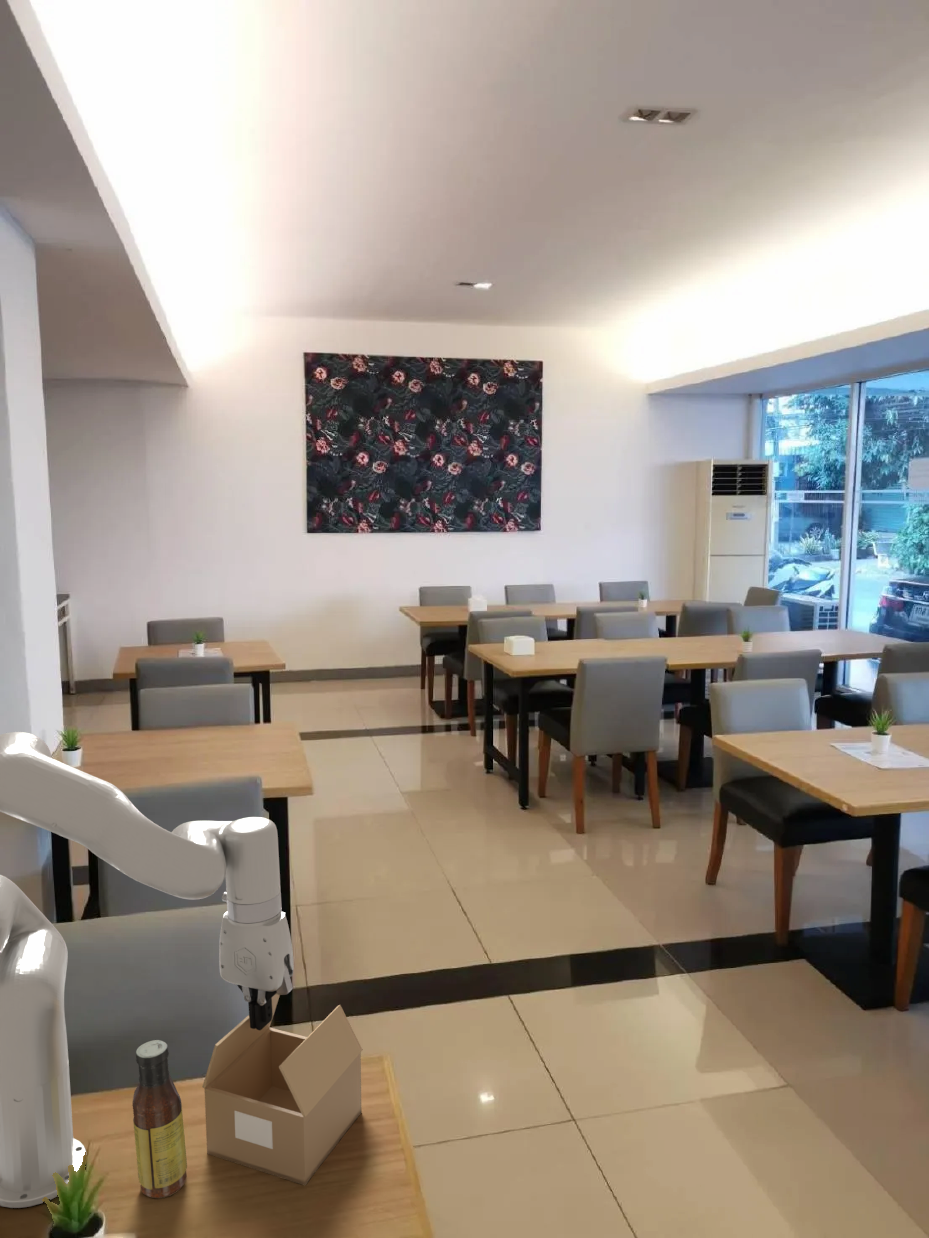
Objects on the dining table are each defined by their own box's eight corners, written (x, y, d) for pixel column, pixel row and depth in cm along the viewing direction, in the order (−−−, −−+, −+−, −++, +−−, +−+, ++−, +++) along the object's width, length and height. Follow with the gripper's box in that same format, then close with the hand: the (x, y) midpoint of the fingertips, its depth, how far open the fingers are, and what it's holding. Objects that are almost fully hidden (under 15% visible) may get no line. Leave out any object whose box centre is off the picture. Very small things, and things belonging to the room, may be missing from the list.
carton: (206, 1154, 130) (204, 1088, 129) (271, 1086, 145) (269, 1027, 144) (304, 1185, 125) (303, 1117, 123) (361, 1112, 139) (360, 1050, 138)
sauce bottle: (194, 1168, 128) (189, 1035, 125) (176, 1203, 121) (169, 1063, 119) (149, 1165, 128) (142, 1032, 125) (128, 1199, 122) (121, 1060, 119)
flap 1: (204, 1088, 129) (202, 1086, 129) (269, 1027, 144) (267, 1026, 144) (217, 1046, 127) (215, 1044, 127) (281, 988, 142) (279, 987, 142)
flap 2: (360, 1050, 138) (362, 1049, 138) (303, 1117, 123) (305, 1116, 123) (338, 1005, 138) (340, 1004, 138) (278, 1066, 124) (280, 1065, 124)
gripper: (194, 908, 131) (203, 1027, 134) (283, 925, 125) (290, 1050, 128) (227, 886, 138) (234, 1000, 141) (313, 902, 132) (319, 1021, 135)
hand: (261, 1024), depth 134 cm, fingers closed
